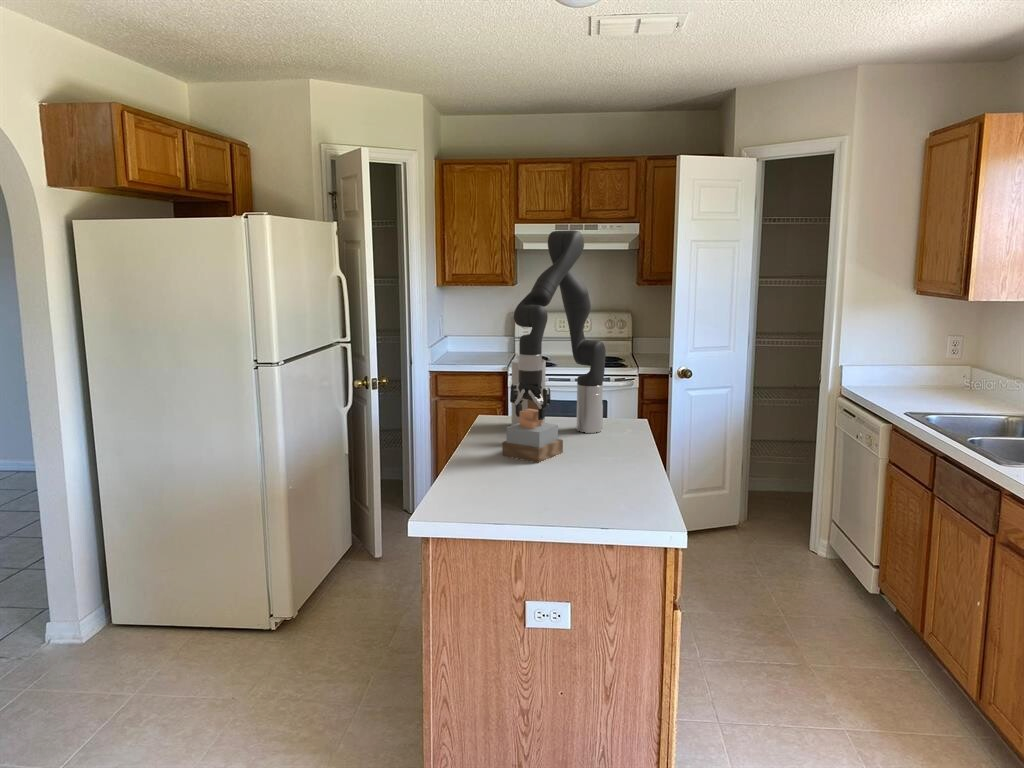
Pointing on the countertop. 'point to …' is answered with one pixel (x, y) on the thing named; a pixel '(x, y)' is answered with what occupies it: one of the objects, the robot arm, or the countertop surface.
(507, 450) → the tower base block
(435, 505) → the countertop surface
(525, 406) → the cylinder vase
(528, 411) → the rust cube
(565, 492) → the countertop surface
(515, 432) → the tower top block
